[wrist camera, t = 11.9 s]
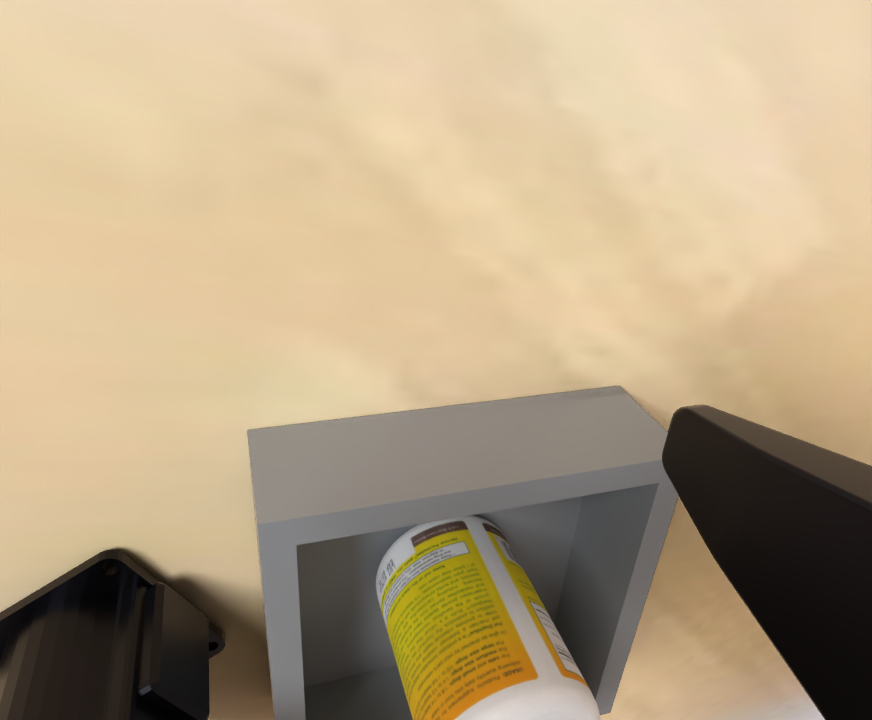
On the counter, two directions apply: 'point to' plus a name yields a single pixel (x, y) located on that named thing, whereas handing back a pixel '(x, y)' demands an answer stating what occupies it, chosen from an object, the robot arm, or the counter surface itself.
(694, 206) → the counter surface
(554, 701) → the supplement bottle
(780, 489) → the robot arm
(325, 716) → the box
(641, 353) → the counter surface
